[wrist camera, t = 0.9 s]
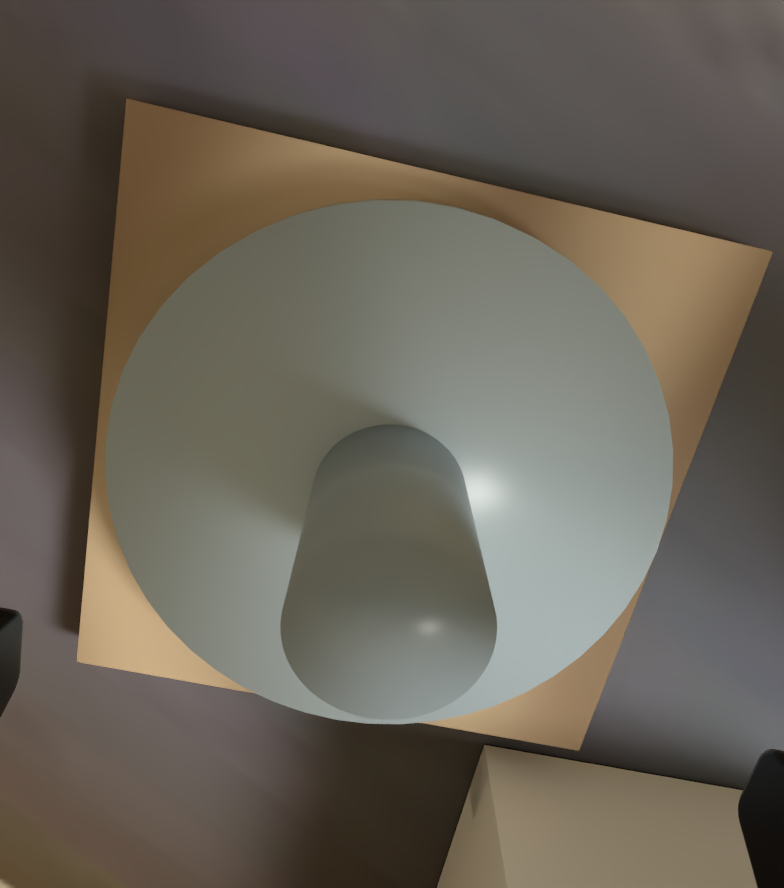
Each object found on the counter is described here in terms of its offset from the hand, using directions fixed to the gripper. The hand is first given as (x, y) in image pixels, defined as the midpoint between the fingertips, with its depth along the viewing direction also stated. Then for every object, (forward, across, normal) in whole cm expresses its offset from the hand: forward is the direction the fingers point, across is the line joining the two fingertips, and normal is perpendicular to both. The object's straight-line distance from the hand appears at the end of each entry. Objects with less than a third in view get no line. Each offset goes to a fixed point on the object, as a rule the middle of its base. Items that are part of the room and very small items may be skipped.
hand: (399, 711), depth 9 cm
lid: (+7, 0, 0) cm, 7 cm away
